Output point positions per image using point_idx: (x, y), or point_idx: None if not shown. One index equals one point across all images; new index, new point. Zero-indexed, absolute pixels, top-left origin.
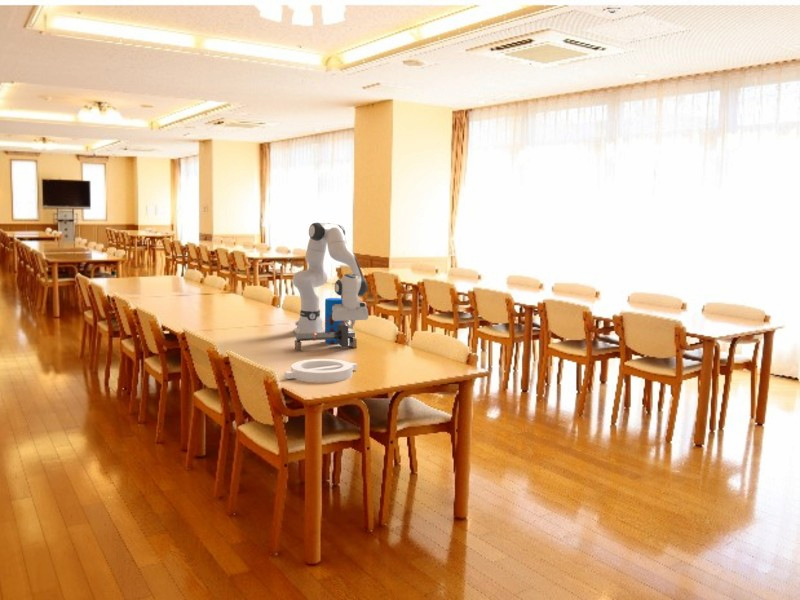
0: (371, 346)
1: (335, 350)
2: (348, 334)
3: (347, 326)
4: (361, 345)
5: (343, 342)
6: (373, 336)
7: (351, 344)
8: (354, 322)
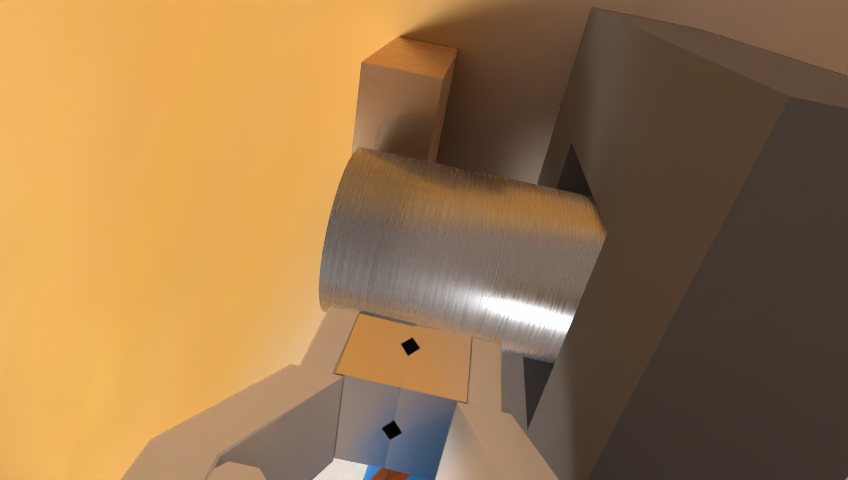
0: (130, 40)
1: (840, 24)
2: (519, 201)
3: (761, 189)
4: (251, 178)
5: (719, 37)
6: (11, 474)
7: (436, 148)
8: (190, 438)
